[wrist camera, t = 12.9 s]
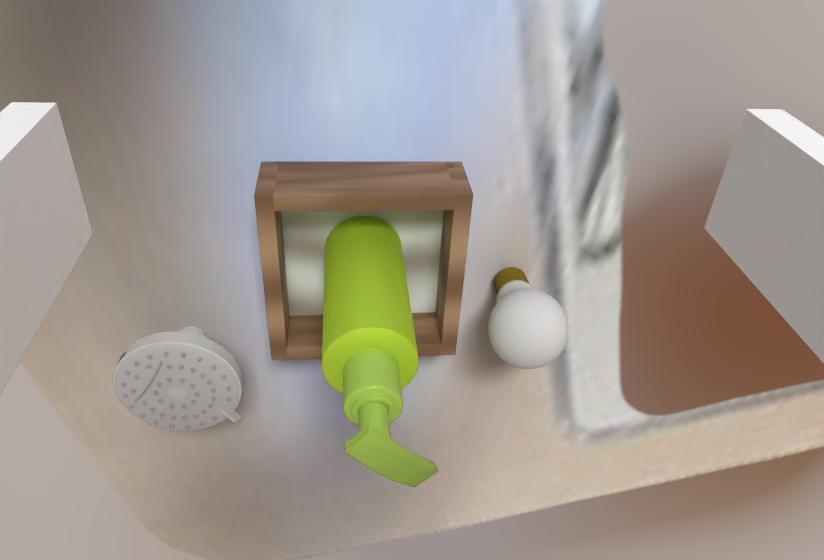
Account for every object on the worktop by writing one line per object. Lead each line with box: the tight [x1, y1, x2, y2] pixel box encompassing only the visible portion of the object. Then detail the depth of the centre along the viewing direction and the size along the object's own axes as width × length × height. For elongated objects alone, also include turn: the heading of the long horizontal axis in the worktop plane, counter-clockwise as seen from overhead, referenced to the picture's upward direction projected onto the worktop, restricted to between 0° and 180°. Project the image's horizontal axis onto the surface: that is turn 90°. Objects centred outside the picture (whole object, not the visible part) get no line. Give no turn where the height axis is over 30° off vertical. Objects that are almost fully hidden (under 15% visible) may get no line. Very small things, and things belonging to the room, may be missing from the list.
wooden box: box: [254, 162, 473, 360], centre depth 49 cm, size 14×14×5 cm
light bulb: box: [488, 267, 568, 369], centre depth 50 cm, size 6×6×10 cm
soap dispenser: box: [322, 216, 439, 487], centre depth 42 cm, size 6×7×20 cm
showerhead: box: [113, 326, 243, 431], centre depth 52 cm, size 9×7×10 cm
